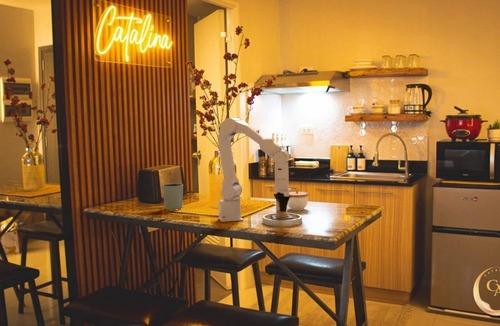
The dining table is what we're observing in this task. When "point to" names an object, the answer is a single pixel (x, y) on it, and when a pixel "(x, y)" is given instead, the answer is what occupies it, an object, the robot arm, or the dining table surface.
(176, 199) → the grey green cup
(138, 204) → the dining table surface
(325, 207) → the dining table surface
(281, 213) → the wood wick
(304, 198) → the lidded jar
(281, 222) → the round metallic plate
